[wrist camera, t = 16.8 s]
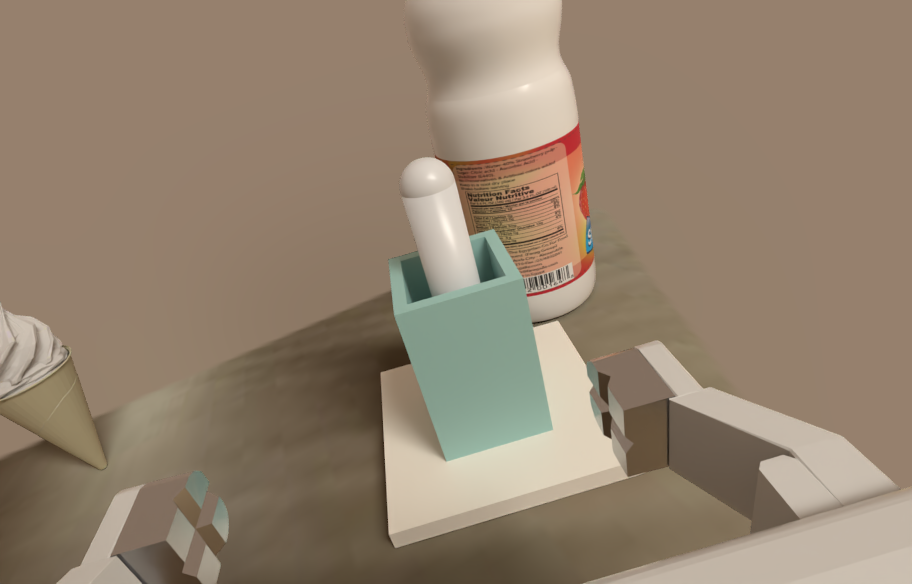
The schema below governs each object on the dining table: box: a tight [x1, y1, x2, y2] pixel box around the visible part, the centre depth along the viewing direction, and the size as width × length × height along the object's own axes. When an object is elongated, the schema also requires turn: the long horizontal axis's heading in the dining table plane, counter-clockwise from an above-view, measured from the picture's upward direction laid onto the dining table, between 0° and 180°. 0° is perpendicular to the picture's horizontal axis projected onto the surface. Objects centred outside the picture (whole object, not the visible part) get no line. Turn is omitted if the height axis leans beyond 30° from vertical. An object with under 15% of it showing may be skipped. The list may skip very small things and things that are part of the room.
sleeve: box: [388, 229, 553, 462], centre depth 26 cm, size 6×6×9 cm
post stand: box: [381, 157, 644, 548], centre depth 25 cm, size 12×12×15 cm
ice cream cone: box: [0, 303, 107, 470], centre depth 30 cm, size 5×5×15 cm
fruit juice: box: [404, 0, 596, 323], centre depth 33 cm, size 9×9×28 cm
